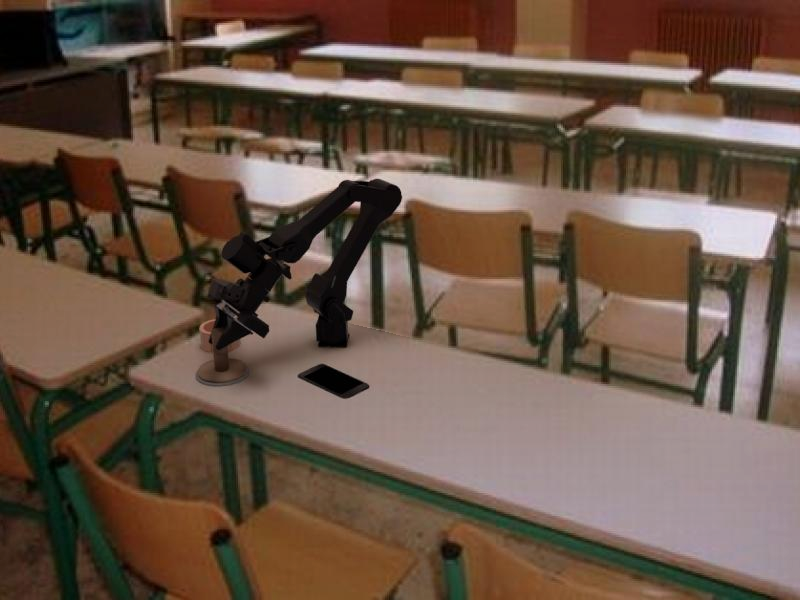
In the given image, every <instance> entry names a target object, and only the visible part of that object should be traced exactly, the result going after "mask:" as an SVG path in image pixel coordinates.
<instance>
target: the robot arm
mask: <svg viewBox="0 0 800 600" xmlns="http://www.w3.org/2000/svg"><path fill="white" fill-rule="evenodd" d="M402 200H403V195H402V191H401V189H400V187H399V186H398V185H396V184H394V183H391V182H389V181H387V180H384V179H381V178H373V179H370V180H369V181H368V180H367V181H366V180H350V179H344V180H342V181H341V182H339V184H338V185H337V187H336V188H334V189H333V190H332V191H331V192H330V193H329V194H327V195H326V196H325V197H324V198H323V199H322V200H321V201H320V202H318V203H317V204H316V205H314V207H312V208H311V209H310V210H309V211H308V212H307V213H306V214H304V215H303V216H302V217H301V218H299V219H297V220H296V221H294V222H290V223H287V224H285V225H283V226H281V227H279V229H277V230H275V231H274V232H272V233H271V234H270V235H269V236H267V237H265V238H261V239H259V240H256V241H255V240H254V239H252V237H251V236H250V235H248V234H247V233H246V232H244V231H241V232H240V233H239V235H235V236H234V237H232V238H231V239H229V240H228V241H226V243H225V244H224V245H223V247H222V250H221V258H222V259H223V260H224V261H225V262H227V263H228V264H230V265H231V266H232V267H234V268H235V269H237V270H238V271H240V272H241V273H242V274H247V276H246V277H245V278H244V279H243V278H242V277H240V278H238V279H237V280H236V281H235V282H232V281H229V280H224V279H219V278H212V279H211V282H210V285H209V288H208V290H207V293H208V294H207V295H206V297H207V298H208V299H210V300H211V301H212V302H214V303H216V304H213V308H214V310H215V312H214V313H215V323H214V326H213V329H215V328H225V330H224V332H223V334H222V335H221V337H220V339H219V340H218V342H217V344H216V346H215V348H216V349H217V350H221V349H222V348H224V347H226V346H228V345H230V344H231V343H233V342H235V341H237V340H239V339H240V340H241V339H242V338H243V339H244V337H247V336H249V335H253V334H254V333H255V334H256V335H258V336H259V337H261V339H265V338H266V337H267V336H268V334H269V332H270V325H269V324H268V323H267V322H265V321H263V319H261V318H260V317H258V316H259V314H258V313H257V311H258V309H259V308H260V307H261V305H262V303H264V302H266V303H269V301H270V300H271V298H269V297H268V295H269V294H270V293H271V291H272V290H273V289H274V287H275V286H276V284H277V283H278V281H280V279H281V277H282V276H283V277H284V278H286V279H287V280H291V279H292V277H293V276H292V272H291V265H289V264H296V263H297V262H299V261H300V260H302V258H303V257H304V255H306V253H307V252H308V251H309V250H310V248H311V245H312V243H313V241H314V239H315V238H316V237H317V236H318V235H319V234H320V233H321V232H323V230H325V229H326V228H327V227H328V226H329V225H330V224H332V223H333V222H334V221H335V220H336V219H337V218H338V217H340V216H341V215H342V214H343V213H344V212H345V211H346V210H348V209H349V208H350V207H351V206H352V205H354V204H355V203H356V202H357V203H360V205H359V214H358V216H357V218H356V219H355V221H354V223H353V225H352V227H350V230H349V231H348V234H347V235H346V237H345V238H344V241H343V242H342V243H341V246H340V248H339V250H338V252H337V253H336V256H335V257H334V258H333V261H332V262H331V263H330V266H329V268H328V269H327V270H326V271H325V272H323V273H322V274H319V273H317V272H316V273H314V274H313V276H312V278H311V280H310V283H308V285H307V286H306V287H305V289H306V290H307V291H306V293H305V296H304V298H305V301H306V304H307V306H309V307H310V308H311V309H312V310H313V312H314V313H315V314H317V315H318V317H317V320H316V322H315V340H316V342H317V348H347V347H348V344H349V340H350V332H349V321H352V318H353V315H354V310H353V309H351V308H350V307H349V306H348V305H346V304H345V302H346V301H345V300H346V298H347V294H348V292H347V291H348V282H349V279H350V277H351V275H352V274H353V272H354V270H355V268H356V267H357V265H358V263H359V261H360V260H361V258H362V256H363V255H364V253H365V251H366V249H367V247H368V245H369V243H370V242H371V240H372V238H373V237H374V234H375V233H376V231H377V229H378V227H379V226H380V225H381V224H382V223H383V222H385V221H386V220H387V219H389V218H390V217H391V216H393V214H394V213H395V212H396V210H397V209H398V208H399V207H400V205H401V203H402ZM265 256H268V257H269V258H265ZM279 261H282V262H284V263H280V262H279ZM208 342H209V343H210V344H212V336H211V335H210V338H209V341H208Z"/></svg>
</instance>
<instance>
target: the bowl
mask: <svg viewBox="0 0 800 600" xmlns="http://www.w3.org/2000/svg"><path fill="white" fill-rule="evenodd" d="M215 319H216V318H215ZM215 319H209V320H206V321H205V322H203V323H201V325H200V326H199V328H198V329H199V330H198V331H199V340H200V348H202V349H203V351H204V352H206V353H211V354H213V346H212V344H210V343H209V342H208V341H209V338H210V335H211V330H212V329H213V326H214V323H215ZM241 343H242V342H241V339H239V340H237V341H235V342H233V343H231V344H230V345H228V346H227V347H228V353H229V352H232V351H234V350H236V349H238V348H239V347H240V345H241Z"/></svg>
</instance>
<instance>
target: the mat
mask: <svg viewBox="0 0 800 600" xmlns="http://www.w3.org/2000/svg"><path fill="white" fill-rule="evenodd" d="M246 367H247V372H246V374H245V375H244V376H243V377H241V378H239V379H237V380H235V381H232V382H227V383H209V382H205V381H203V380H201V379H200V378H199V376H198V369H197V370H196V372H195V379H196V381H197V382H198V383H201V384H202V385H205V386H211V387H224V386H231V385H234V384H237V383H240V382H242V381H244V380H245V379H246V378H247V377H248V376H249V375H250V367H249V366H248V365H247V364H246Z"/></svg>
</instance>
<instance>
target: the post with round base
mask: <svg viewBox="0 0 800 600" xmlns="http://www.w3.org/2000/svg"><path fill="white" fill-rule="evenodd" d="M224 330H225V328H215V329H212V330H211V336H212V346H213V353H212V356H213V359H212V360H208V361H206V362H204V363H202V364H201V365H199V367H198V369H197V370H198V376H199V378H200V379H201V380H203V381H205V382H209V383H227V382H232V381H235V380H237V379H239V378H241V377H243V376H244V375H245V374H246V372H247V367H246V365H247V364H246V363H245V361H242V360H240V359H238V358H234V357H232V358H230V357H229V352H228V347H227V346H226V347H224V348H222V349H221V350H217V349H216V348H215V346H216V344H217V342H218V340H219V339H220V337H221V335H222V334H223V332H224Z"/></svg>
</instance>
